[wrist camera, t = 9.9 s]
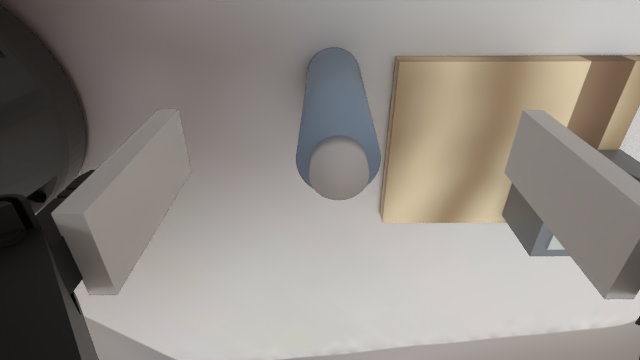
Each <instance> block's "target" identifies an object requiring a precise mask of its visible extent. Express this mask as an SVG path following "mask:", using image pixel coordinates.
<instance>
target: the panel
mask: <svg viewBox="0 0 640 360" xmlns="http://www.w3.org/2000/svg"><path fill="white" fill-rule="evenodd" d="M639 105H640V56H396V60H395V70H394V80H393V89H392V99H391V109H390V119H389V129H388V138H387V148H386V158H385V168H384V177H383V187H382V197H381V207H380V215H381V219H382V223H507V222H506V220H505V219H504V217H503V216H502V213H503V210H504V207H505V203H506V200H507V197H508V194H509V191H510V188H511V185H512V182H511V181H510V179H509V178H508V177H507V176H506V174H505V173H504V172H505V168H506V165H507V161H508V158H509V155H510V151H511V148H512V145H513V141H514V138H515V134H516V131H517V128H518V124H519V121H520V118H521V114H522V111H523V110H544V111H545V112H546V113H548V114H549V115H550V116H552V117H553V118H554V119H556V120H557V121H558V122H560V123H561V124H562V125H564V126H565V127H566V128H568V129H569V130H570V131H572V132H573V133H574V134H576V135H577V136H578V137H580V138H581V139H582V140H584V141H585V142H586V143H588V144H589V145H590V146H592V147H593V148H594V149H596V150H619V148H620V146H621V143H622V141H623V139H624V137H625V135H626V133H627V131H628V129H629V126H630V124H631V122H632V120H633V118H634V116H635V114H636V112H637V110H638V107H639Z"/></svg>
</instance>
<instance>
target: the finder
mask: <svg viewBox="0 0 640 360" xmlns="http://www.w3.org/2000/svg"><path fill="white" fill-rule="evenodd" d="M597 151H599V152H600V153H601V154H603V155H604V156H605V157H607V158H608V159H609V160H611V161H612V162H613V163H615V164H616V165H617V166H619V167H620V168H621V169H623V170H624V171H625V172H627V173H629V174H631V175H633V176H635V177H638V178H640V162H638V161H637V160H635V159H634V158H632V157H631V156H629V155H628V154H626V153H625V152H623V151H622V150H620V149H619V150H597ZM502 216H503V217H504V219H505V220H506V222H507V223H508V225H509V226H510V228H511V229H512V231H513V232H514V234H515V235H516V237H517V238H518V239H519V241H520V242H521V244H522V245H523V247H524V248H525V250H526V251H527V253H528V254H529V256H570V255H569V254H568V252H567V251H566V250H565V249H564V247H563V246H562V245H561V244H560V242H559V241H558V240H557V239H556V237H555V236H554V235H553V234H552V232H551V231H550V230H549V228H548V227H547V226H546V225H545V223H544V222H543V221H542V220H541V218H540V217H539V216H538V215H537V213H536V212H535V211H534V210H533V208H532V207H531V206H530V205H529V203H528V202H527V201H526V199H525V198H524V197H523V196H522V194H521V193H520V192H519V191H518V189H517V188H516V187H515V186H514V184H513V183H512V185H511V188H510V191H509V194H508V197H507V200H506V203H505V207H504V210H503V213H502Z"/></svg>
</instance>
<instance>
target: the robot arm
mask: <svg viewBox="0 0 640 360" xmlns="http://www.w3.org/2000/svg"><path fill="white" fill-rule="evenodd" d="M85 146H86V136H85V126H84V121H83V117H82V112H81V109H80V106H79V103H78V101H77V98H76V96H75V93H74V91H73V89H72V87H71V85H70V83H69V81H68V80H67V78H66V76H65V74H64V73H63V71H62V70H61V68H60V67H59V65H58V64H57V62H56V61H55V59H54V58H53V57H52V55H51V54H50V53H49V52H48V50H47V49H46V48H45V47H44V45H43V44H42V43H41V42H40V41H39V40H38V39H37V38H36V36H35V35H34V34H33V33H32V32H31V31H30V30H29V29H28V28H27V27H26V26H25V25H24V24H22V23H21V22H20V21H19V20H18V19H17V18H16V17H15V16H14V15H12V14H11V13H10V12H9V11H8V10H6V9H5V8H4V7H2V6H1V5H0V360H99V359H98V357H97V354H96V351H95V348H94V345H93V342H92V340H91V336H90V334H89V331H88V328H87V325H86V322H85V319H84V316H83V313H82V310H81V307H80V305H79V302H78V299H77V297H76V295H75V293H74V290H75V288H76V287H77V286H78V284H79V283H80V281H81V280H83V282H84V284H85V287H86V289H87V291H88V293H89V295H118V293H119V291H120V290H121V288H122V286H123V285H124V283H125V281H126V280H127V278H128V276H129V275H130V273H131V271H132V270H133V268H134V266H135V265H136V263H137V261H138V260H139V258H140V256H141V255H142V253H143V251H144V250H145V248H146V246H147V245H148V243H149V241H150V240H151V238H152V236H153V235H154V233H155V231H156V230H157V228H158V226H159V225H160V223H161V221H162V220H163V218H164V216H165V215H166V213H167V211H168V210H169V208H170V206H171V205H172V203H173V201H174V200H175V198H176V196H177V195H178V193H179V191H180V190H181V188H182V186H183V185H184V183H185V181H186V180H187V178H188V176H189V175H190V173H191V167H190V162H189V157H188V152H187V148H186V143H185V138H184V134H183V129H182V124H181V120H180V115H179V110H178V109H158V110H157V111H156V112H155V113H154V114H153V115H152V116H151V117H150V118H149V119H148V120H147V121H146V122H145V123H144V124H143V125H142V126H141V127H140V128H139V129H138V130H137V131H136V132H135V133H134V134H133V135H131V136H130V137H129V138H128V139H127V140H126V141H125V142H124V143H123V144H122V145H121V146H120V147H119V148H118V149H117V150H116V151H115V152H114V153H113V154H112V155H111V156H110V157H109V158H108V159H107V160H106V161H105V162H104V163H103V164H101V165H100V166H99V167H98V168H97V169H96V170H90V171H88V172H86V173H85V174H83V175H81V176H79V177H77V178H76V179H75V177H76V176H77V174H78V172H79V170H80V168H81V165H82V162H83V159H84V154H85ZM504 173H505V174H506V176H507V177H508V178H509V179H510V181H511V182H512V183H513V184H514V186H515V187H516V188H517V189H518V191H519V192H520V193H521V194H522V196H523V197H524V198H525V199H526V201H527V202H528V203H529V205H530V206H531V207H532V208H533V210H534V211H535V212H536V213H537V215H538V216H539V217H540V218H541V220H542V221H543V222H544V223H545V225H546V226H547V227H548V228H549V230H550V231H551V232H552V234H553V235H554V236H555V237H556V239H557V240H558V241H559V242H560V244H561V245H562V246H563V247H564V249H565V250H566V251H567V252H568V254H569V255H570V256H571V257H572V259H573V260H574V261H575V263H576V264H577V265H578V266H579V268H580V269H581V270H582V271H583V273H584V274H585V275H586V276H587V278H588V279H589V280H590V281H591V283H592V284H593V285H594V286H595V288H596V289H597V290H598V292H599V293H600V294H601V295H602V297H603V298H604V299H634V297H635V296H636V294H637V293H638V291H639V290H640V178H638V177H635V176H633V175H631V174H629V173H627V172H625V171H624V170H623V169H621V168H620V167H619V166H617V165H616V164H615V163H613V162H612V161H611V160H609V159H608V158H607V157H605V156H604V155H603V154H601V153H600V152H599V151H597V150H596V149H594V148H593V147H592V146H590V145H589V144H588V143H586V142H585V141H584V140H582V139H581V138H580V137H578V136H577V135H576V134H574V133H573V132H572V131H570V130H569V129H568V128H566V127H565V126H564V125H562V124H561V123H560V122H558V121H557V120H556V119H554V118H553V117H552V116H550V115H549V114H548V113H546V112H545V111H544V110H523V111H522V114H521V118H520V121H519V124H518V128H517V131H516V134H515V138H514V141H513V145H512V148H511V151H510V155H509V158H508V161H507V165H506V168H505V172H504ZM38 212H39V213H38ZM37 213H38V214H37ZM35 214H37V215H35ZM635 324H638V325H640V317H639V318H638V319H637V321H636V322H635ZM639 360H640V357H639Z"/></svg>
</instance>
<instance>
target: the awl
mask: <svg viewBox="0 0 640 360" xmlns="http://www.w3.org/2000/svg"><path fill="white" fill-rule="evenodd" d="M380 162H381V154H380V149H379V145H378V141H377V137H376V133H375V129H374V125H373V121H372V117H371V113H370V109H369V105H368V101H367V97H366V93H365V89H364V85H363V81H362V77H361V73H360V69H359V66H358V63H357V61H356V59H355V58H354V56H353V55H352V54H351V53H349V52H348V51H346V50H344V49H341V48H334V47H333V48H327V49H324V50H322V51H320V52H319V53H317V54H316V55H315V56H314V57H313V59H312V60H311V62H310V64H309V67H308V73H307V81H306V88H305V95H304V103H303V110H302V117H301V124H300V132H299V139H298V146H297V154H296V164H297V168H298V171H299V174H300V175H301V177H302V179H303V180H304V181H305V182H306V183H307V184H308V185H309V186H310V187H312V188H313V189H314V190H315V191H316V192H317V193H318V194H320V195H321V196H323V197H325V198H328V199H332V200H345V199H349V198H352V197H354V196H356V195H358V194H359V193H360V192H361V191H362V190H363V189H364V188H365V187H366V186H367V185H368V184H369V183H370V182H371V181H372V180H373V178H374V177H375V176H376V174H377V172H378V170H379V167H380Z"/></svg>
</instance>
